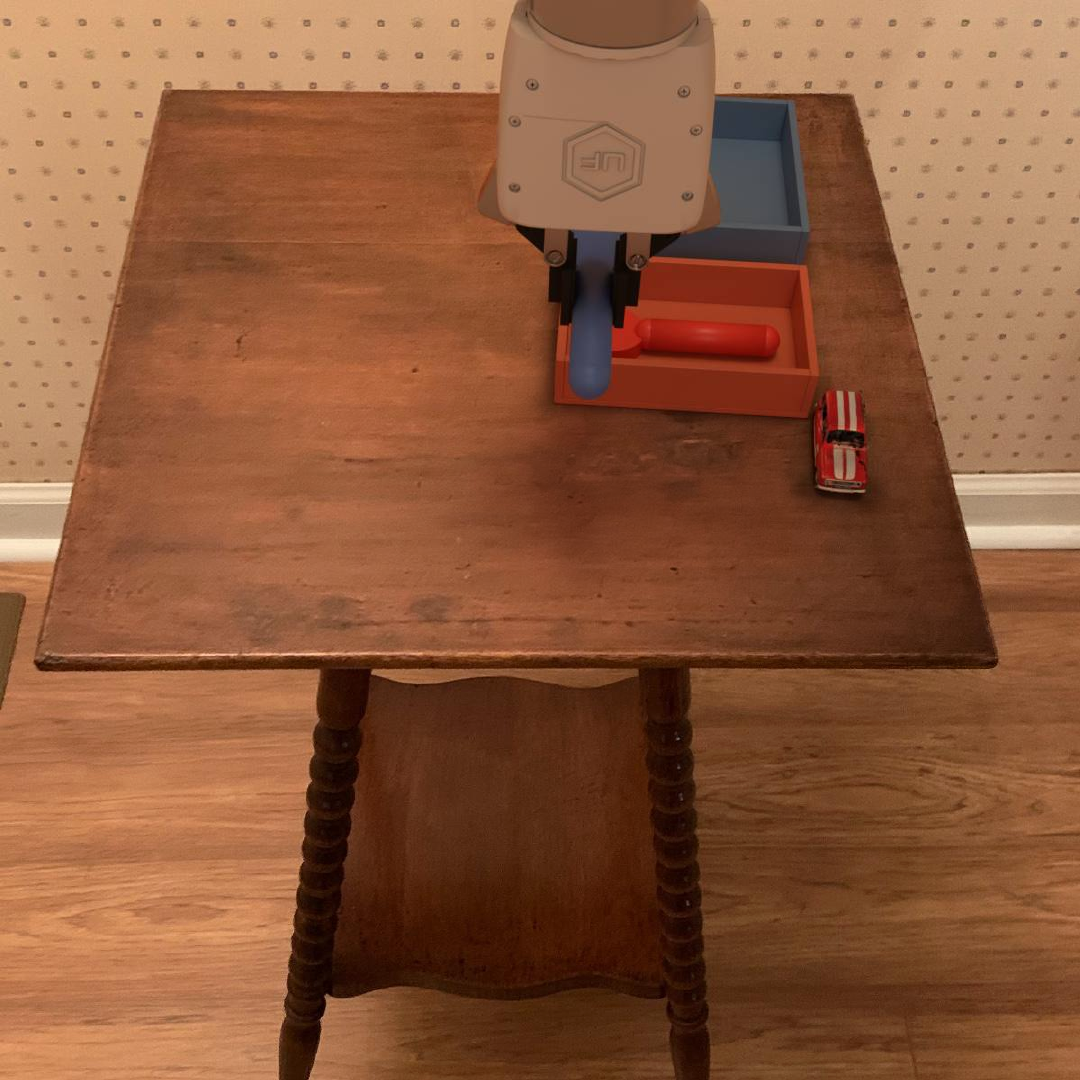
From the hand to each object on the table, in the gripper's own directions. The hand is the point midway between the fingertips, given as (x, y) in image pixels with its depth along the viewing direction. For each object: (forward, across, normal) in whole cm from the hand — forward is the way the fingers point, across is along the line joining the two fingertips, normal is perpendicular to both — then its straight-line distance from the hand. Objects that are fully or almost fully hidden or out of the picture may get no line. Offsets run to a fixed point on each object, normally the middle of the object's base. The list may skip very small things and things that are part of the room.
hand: (592, 308), depth 66 cm
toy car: (+14, +17, +3) cm, 22 cm away
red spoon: (+14, +6, +12) cm, 19 cm away
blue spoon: (0, 0, -1) cm, 1 cm away
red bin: (+14, +6, +12) cm, 20 cm away
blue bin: (+14, +10, +30) cm, 34 cm away
